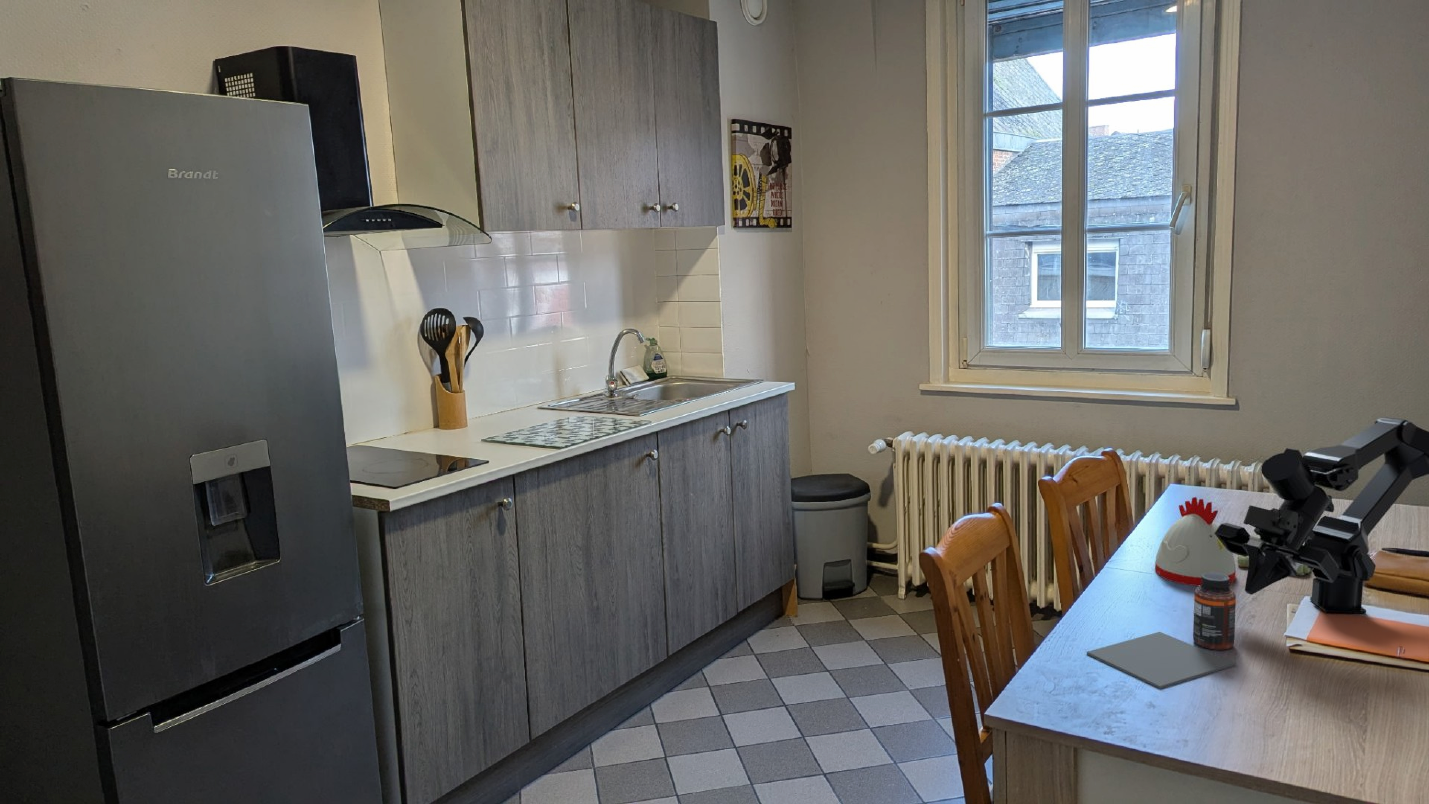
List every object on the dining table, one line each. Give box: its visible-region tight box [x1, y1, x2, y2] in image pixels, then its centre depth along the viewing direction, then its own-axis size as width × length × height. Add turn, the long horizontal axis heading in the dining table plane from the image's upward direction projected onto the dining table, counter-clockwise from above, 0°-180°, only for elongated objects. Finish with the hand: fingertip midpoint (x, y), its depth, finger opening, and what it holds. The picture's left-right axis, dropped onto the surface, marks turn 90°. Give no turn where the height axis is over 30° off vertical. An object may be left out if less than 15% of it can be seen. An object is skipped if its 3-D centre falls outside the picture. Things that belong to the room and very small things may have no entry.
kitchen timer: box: [1154, 496, 1237, 586], centre depth 190 cm, size 14×14×15 cm
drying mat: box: [1086, 631, 1236, 690], centre depth 154 cm, size 16×14×1 cm
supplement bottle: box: [1192, 573, 1237, 651], centre depth 159 cm, size 6×6×11 cm
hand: (1248, 592), depth 161 cm, fingers closed
